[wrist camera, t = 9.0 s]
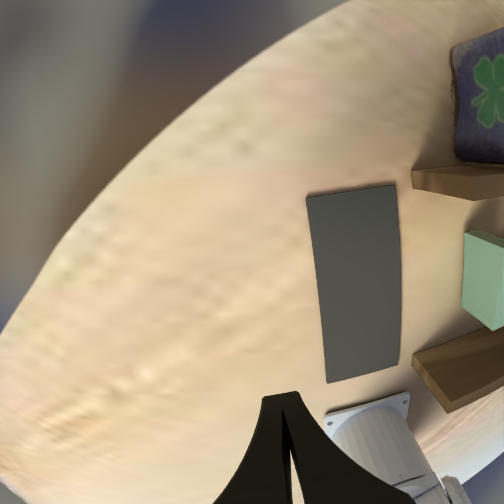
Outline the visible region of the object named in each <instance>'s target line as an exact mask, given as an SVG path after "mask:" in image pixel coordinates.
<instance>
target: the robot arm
mask: <svg viewBox="0 0 504 504" xmlns="http://www.w3.org/2000/svg"><path fill="white" fill-rule="evenodd" d="M404 400H405V401H404ZM409 403H410V393H409V392H407V391H406V392H403V393H400V394H397V395H394V396H390V397H387V398H384V399H381V400H377V401H374V402H371V403H367V404H363V405H360V406H356V407H352V408H349V409H345V410H341V411H337V412H332V413H328V414H326V415H325V416H324V418H323V421H324V431H323V430H322V428H321V427H320V426H319V425H318V423H317V422H316V421H315V419H314V418H313V417H312V415H311V414H310V412H309V411H308V409H307V407H306V406H305V404H304V402H303V400H302V398H301V396H300V393H299V392H297V391H293V392H287V393H282V394H276V395H270V396H264V397H263V398H262V404H261V410H260V414H259V418H258V422H257V425H256V428H255V431H254V434H253V437H252V439H251V442H250V444H249V446H248V449H247V451H246V453H245V456H244V458H243V460H242V462H241V463H240V465H239V467H238V469H237V471H236V472H235V474H234V476H233V477H232V479H231V480H230V482H229V483H228V485H227V486H226V488H225V489H224V490H223V492H222V493H221V494H220V496H219V497H218V498H217V499H216V500H215V502H214V503H213V504H293V500H292V482H291V459H290V451H291V454H292V458H293V461H294V465H295V469H296V472H297V476H298V479H299V483H300V486H301V490H302V494H303V498H304V503H305V504H471V502H470V500H469V498H468V496H467V494H466V493H465V491H464V489H463V487H462V486H461V484H460V482H459V481H458V479H457V478H456V477H449V476H448V475H446V476H445V477H443V478H441V481H442V483H443V485H444V486H445V491H446V493H447V494H448V496H449V498H450V500H449V498H448V496H447V494H446V493H445V491H444V489H443V487H442V485H441V483H440V481H439V480H438V478H437V476H436V474H435V473H434V472H433V470H432V469H431V467H430V465H429V463H428V461H427V459H426V457H425V456H424V454H423V452H422V450H421V448H420V446H419V445H418V443H417V441H416V439H415V437H414V435H413V434H412V432H411V430H410V428H409V427H408V425H407V423H406V419H407V414H408V408H409Z"/></svg>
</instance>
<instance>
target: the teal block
mask: <svg viewBox="0 0 504 504" xmlns="http://www.w3.org/2000/svg"><path fill="white" fill-rule="evenodd" d="M461 307H462V308H464V309H465V310H466V311H468V312H469V313H470V314H472V315H473V316H474V317H476V318H477V319H478V320H479V321H481V322H482V323H483V324H485V325H486V326H487V327H488V328H490V329H491V330H492V331H494V330H496V329H498V328H500V327H502V326H504V238H501V237H498V236H496V235H493V234H490V233H488V232H485V231H482V230H479V229H478V230H474V231H469V232H465V233H464V270H463V286H462V298H461Z"/></svg>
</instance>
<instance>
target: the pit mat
mask: <svg viewBox="0 0 504 504" xmlns="http://www.w3.org/2000/svg"><path fill="white" fill-rule="evenodd" d="M305 199H306V205H307V212H308V218H309V225H310V232H311V239H312V247H313V254H314V262H315V270H316V278H317V287H318V296H319V305H320V314H321V324H322V334H323V345H324V357H325V370H326V382H327V384H329V383H333V382H338V381H342V380H346V379H350V378H354V377H357V376H361V375H365V374H369V373H372V372H376V371H379V370H383V369H386V368H389V367H393V366H396V365H398V359H399V345H400V323H401V257H400V235H399V220H398V208H397V197H396V187H395V185H389V186H382V187H374V188H367V189H361V190H354V191H347V192H341V193H334V194H328V195H322V196H315V197H309V198H305Z"/></svg>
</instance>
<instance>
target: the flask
mask: <svg viewBox="0 0 504 504" xmlns="http://www.w3.org/2000/svg"><path fill="white" fill-rule="evenodd" d="M449 58H450V61H449V67H450V68H451V69H452V83H451V90H450V91H451V93H452V95H451V97H452V100H453V103H454V105H455V110H454V112H452V114H453V117H454V125H453V128H452V129H453V130H452V131H453V135H452V142H451V146H452V149H453V151H454V153H455V155H456V157H458V158H459V159H461V160H463V161H465V162H475V163H486V164H487V163H488V164H501V165H504V27H503V28H501V29H499V30H495V31H493V32H491V33H488V34H485V35H483V36H480V37H478V38H476V39H473V40H471V41H468V42H466V43H463V44H460V45H457V46H456V47H454V48H453V49H452V50H451V54H450V57H449Z"/></svg>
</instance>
